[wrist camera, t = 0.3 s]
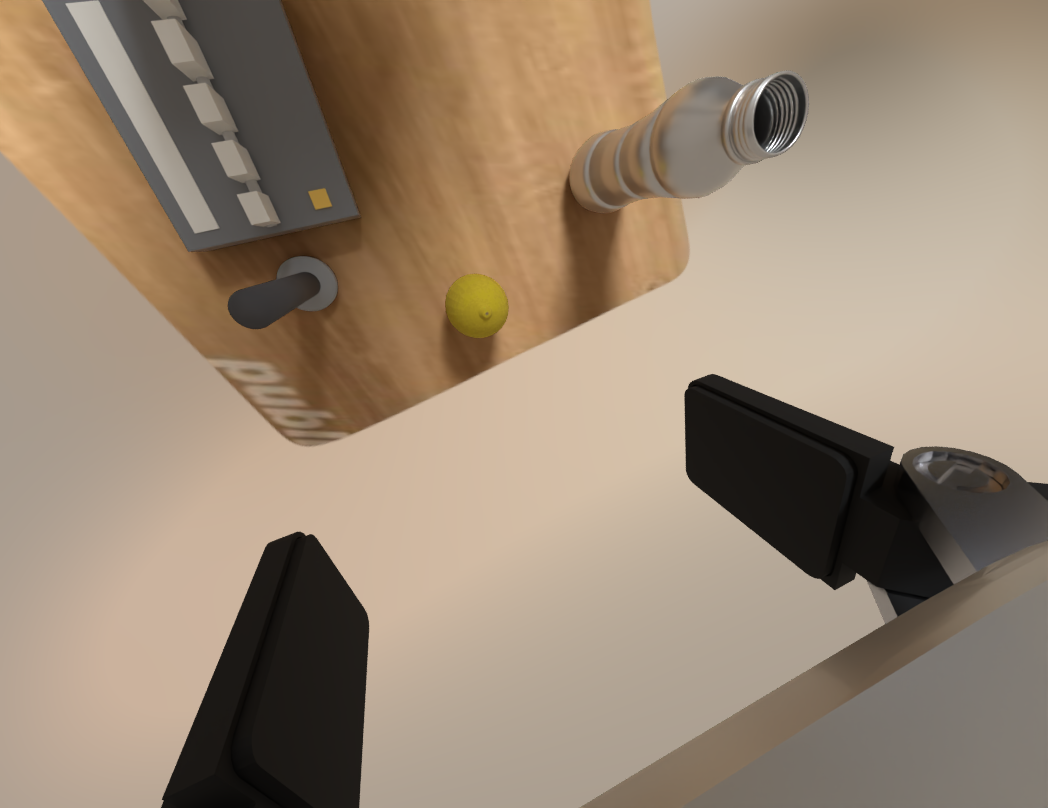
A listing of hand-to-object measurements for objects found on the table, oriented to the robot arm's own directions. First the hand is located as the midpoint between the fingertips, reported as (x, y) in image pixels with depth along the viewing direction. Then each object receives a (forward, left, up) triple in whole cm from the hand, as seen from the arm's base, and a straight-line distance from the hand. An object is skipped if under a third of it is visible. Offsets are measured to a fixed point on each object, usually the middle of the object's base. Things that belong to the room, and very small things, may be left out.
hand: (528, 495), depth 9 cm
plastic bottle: (-8, +19, -31) cm, 37 cm away
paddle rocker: (-16, -9, -27) cm, 33 cm away
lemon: (0, +4, -31) cm, 31 cm away
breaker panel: (-16, -9, -31) cm, 36 cm away
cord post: (-5, -9, -31) cm, 32 cm away
